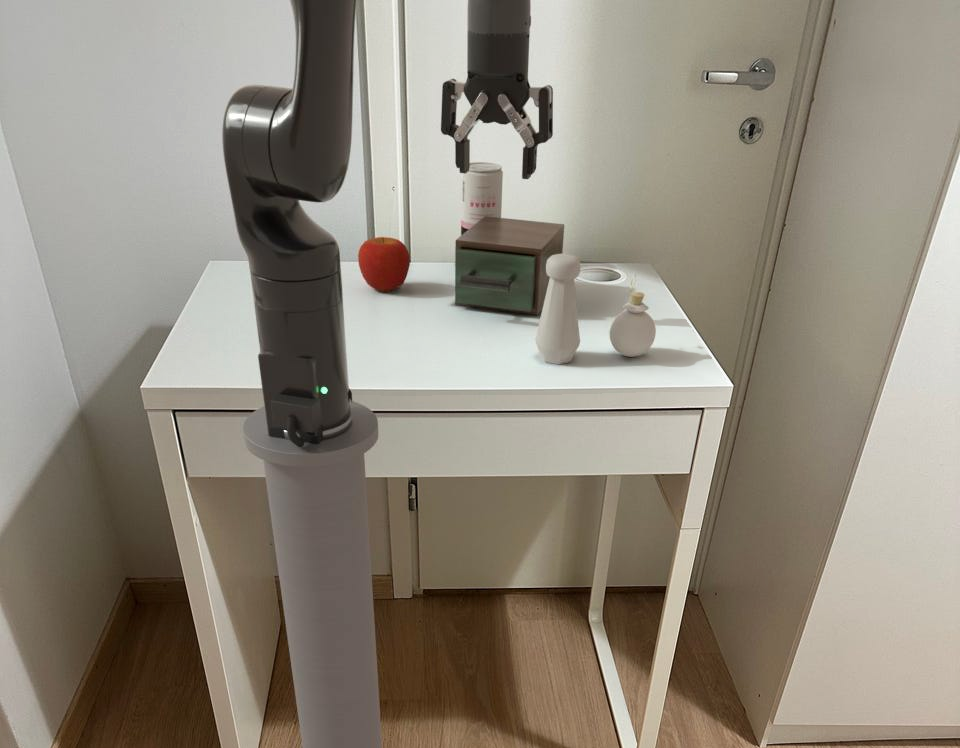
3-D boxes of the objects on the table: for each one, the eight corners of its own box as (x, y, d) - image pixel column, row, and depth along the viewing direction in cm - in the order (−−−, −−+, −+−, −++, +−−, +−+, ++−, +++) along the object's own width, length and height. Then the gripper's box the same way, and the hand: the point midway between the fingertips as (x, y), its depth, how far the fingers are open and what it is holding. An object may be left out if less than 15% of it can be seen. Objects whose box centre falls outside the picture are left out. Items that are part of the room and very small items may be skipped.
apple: (412, 296, 140) (410, 242, 135) (360, 297, 139) (357, 243, 134) (408, 280, 146) (407, 229, 141) (359, 281, 145) (356, 229, 140)
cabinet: (537, 315, 134) (541, 249, 128) (454, 305, 137) (455, 239, 131) (559, 286, 145) (564, 224, 140) (483, 277, 148) (484, 216, 142)
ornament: (612, 364, 120) (621, 286, 114) (601, 343, 126) (609, 268, 120) (657, 363, 120) (668, 285, 114) (643, 343, 126) (654, 268, 120)
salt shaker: (586, 362, 120) (596, 259, 112) (550, 369, 118) (558, 265, 110) (561, 347, 124) (569, 247, 116) (526, 354, 122) (532, 253, 114)
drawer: (521, 323, 129) (524, 268, 124) (444, 313, 131) (444, 259, 127) (552, 285, 143) (556, 235, 138) (481, 276, 145) (483, 227, 141)
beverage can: (462, 257, 156) (463, 161, 147) (500, 259, 156) (504, 162, 147) (458, 269, 151) (459, 169, 142) (498, 271, 151) (501, 171, 142)
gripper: (432, 27, 108) (434, 177, 118) (548, 33, 105) (540, 186, 115) (452, 21, 114) (453, 164, 124) (563, 26, 110) (555, 173, 121)
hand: (495, 175), depth 119 cm, fingers open, 8 cm apart
